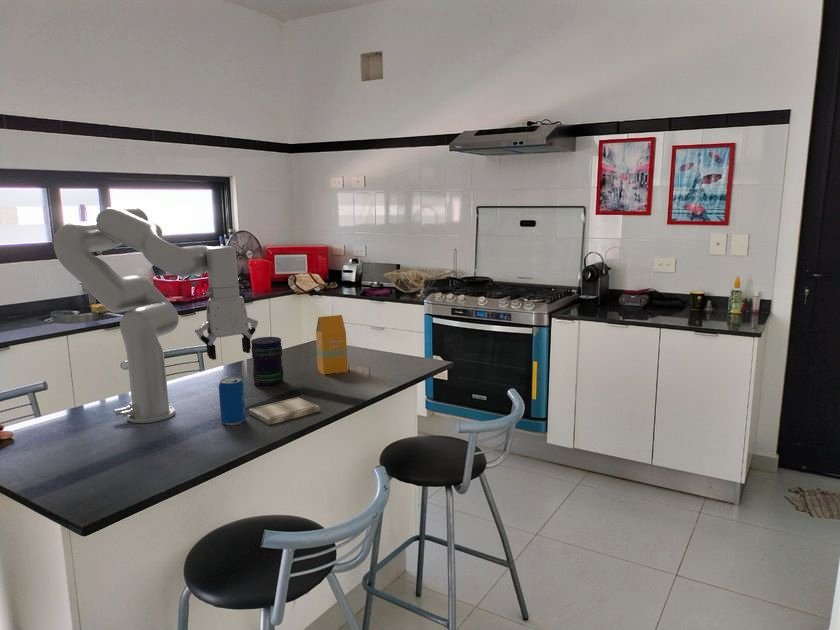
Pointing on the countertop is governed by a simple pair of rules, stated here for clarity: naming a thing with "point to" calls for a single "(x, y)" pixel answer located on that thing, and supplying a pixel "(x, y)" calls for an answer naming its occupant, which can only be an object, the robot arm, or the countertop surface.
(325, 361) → the orange juice
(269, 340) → the storage jar
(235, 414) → the beverage can
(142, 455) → the countertop surface
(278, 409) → the bamboo board
